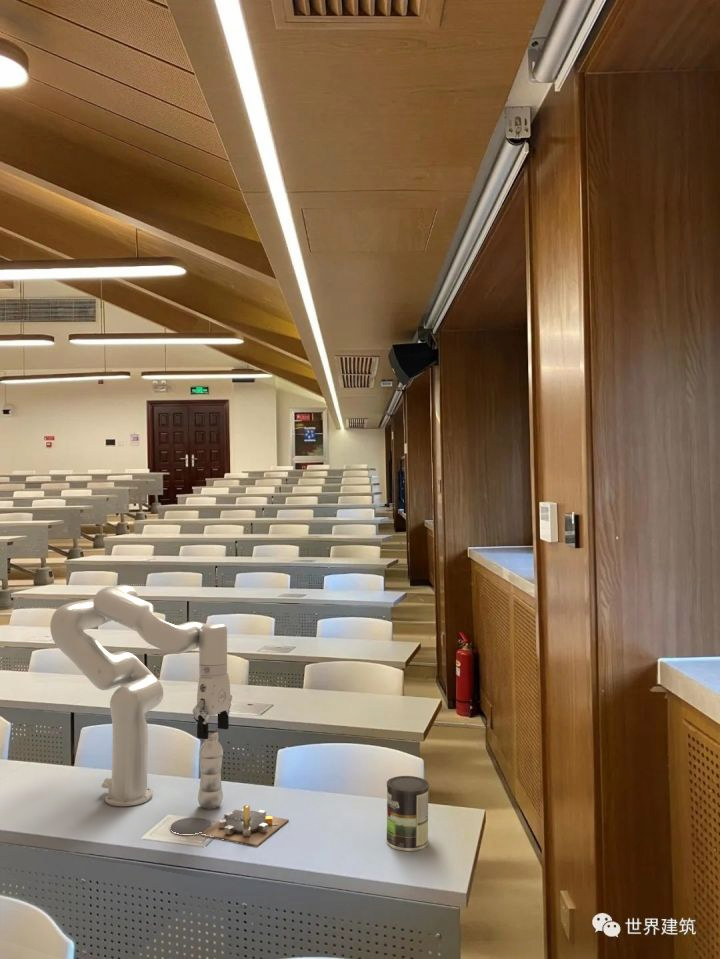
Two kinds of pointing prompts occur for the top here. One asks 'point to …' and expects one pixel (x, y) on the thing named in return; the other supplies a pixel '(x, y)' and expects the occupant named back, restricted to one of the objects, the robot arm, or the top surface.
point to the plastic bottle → (210, 772)
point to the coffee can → (407, 813)
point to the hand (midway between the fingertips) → (213, 733)
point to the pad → (190, 825)
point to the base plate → (254, 837)
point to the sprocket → (245, 821)
